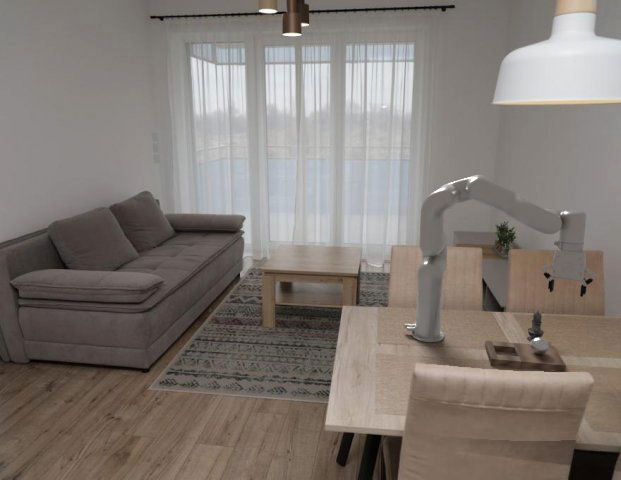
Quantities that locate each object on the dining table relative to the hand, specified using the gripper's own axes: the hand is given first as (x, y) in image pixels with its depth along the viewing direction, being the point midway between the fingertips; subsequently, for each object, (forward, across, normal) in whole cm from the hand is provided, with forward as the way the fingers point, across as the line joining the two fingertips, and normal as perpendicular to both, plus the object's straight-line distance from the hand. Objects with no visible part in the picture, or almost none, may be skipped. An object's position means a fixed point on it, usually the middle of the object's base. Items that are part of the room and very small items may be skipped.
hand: (566, 293), depth 172 cm
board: (+24, -11, -10) cm, 28 cm away
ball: (+18, -6, -8) cm, 21 cm away
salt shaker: (+24, -11, +9) cm, 28 cm away
